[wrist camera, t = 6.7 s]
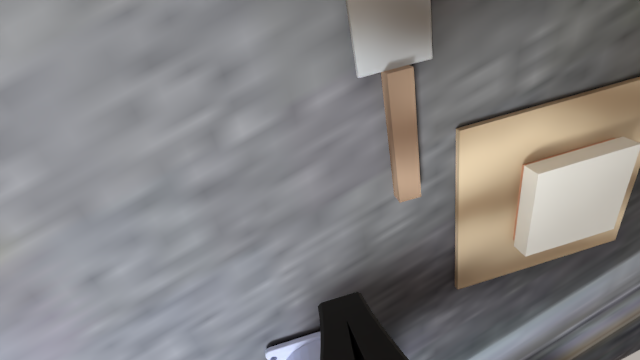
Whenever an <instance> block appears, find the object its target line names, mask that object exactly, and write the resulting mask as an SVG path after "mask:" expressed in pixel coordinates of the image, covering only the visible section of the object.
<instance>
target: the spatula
mask: <svg viewBox="0 0 640 360" xmlns="http://www.w3.org/2000/svg"><path fill="white" fill-rule="evenodd" d="M346 6H347V13H348V20H349V26H350V33H351V40H352V47H353V54H354V60H355V67H356V74H357V77H358V78H361V77H364V76H368V75H372V74H376V73H380V72H381V78H382V87H383V96H384V105H385V114H386V124H387V133H388V142H389V151H390V160H391V170H392V179H393V188H394V195H395V197H396V198H397V199H398V201H399V202H404V201H407V200H411V199H414V198H418V197H421V186H420V169H419V151H418V134H417V117H416V100H415V82H414V67H412V66H410V64H414V63H417V62H421V61H425V60H429V59H432V27H431V0H346Z"/></svg>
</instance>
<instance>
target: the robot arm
mask: <svg viewBox="0 0 640 360" xmlns="http://www.w3.org/2000/svg"><path fill="white" fill-rule="evenodd" d="M318 309H319V316H320V331H319V332H316V333H313V334H310V335H307V336H303V337H300V338H297V339H294V340H291V341H288V342H284V343H281V344H278V345H275V346H272V347H269V348H267V349H266V351H265V355H266V358H267V360H409V359H408V358H407V357H406V356H405V355H404V354H403V352H402V351H401V350H400V349H399V347H398V346H397V345H396V344H395V342H394V341H393V340H392V339H391V337H390V336H389V335H388V334H387V332H386V331H385V330H384V328H383V327H382V326H381V324H380V323H379V321H378V320H377V319H376V317H375V316H374V314H373V313H372V311H371V310H370V308H369V306H368V305H367V303H366V301H365V300H364V298H363V296H362V294H361V293H359V292H356V293H352V294H349V295H346V296H342V297H339V298H336V299H333V300H329V301H326V302H323V303H321V304H320V305H319V306H318Z"/></svg>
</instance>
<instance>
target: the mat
mask: <svg viewBox="0 0 640 360" xmlns="http://www.w3.org/2000/svg"><path fill="white" fill-rule="evenodd" d="M620 137H626V138H628V139H631V140H634V141H636V142H639V143H640V77H637V78H633V79H630V80H626V81H623V82H619V83H616V84H612V85H609V86H605V87H601V88H598V89H594V90H591V91H587V92H584V93H580V94H577V95H573V96H570V97H566V98H562V99H559V100H555V101H552V102H548V103H545V104H541V105H538V106H534V107H531V108H527V109H523V110H520V111H516V112H513V113H509V114H506V115H502V116H499V117H495V118H492V119H488V120H485V121H481V122H477V123H474V124H470V125H467V126H463V127H460V128H456V195H455V287H456V288H457V290H458V289H461V288H465V287H468V286H471V285H474V284H477V283H480V282H484V281H487V280H490V279H493V278H496V277H499V276H503V275H506V274H509V273H512V272H515V271H518V270H522V269H525V268H528V267H531V266H534V265H537V264H541V263H544V262H547V261H550V260H553V259H556V258H559V257H563V256H566V255H569V254H572V253H575V252H578V251H582V250H585V249H588V248H591V247H594V246H597V245H601V244H604V243H607V242H610V241H613V240H615V239H616V236H617V233H618V230H619V227H620V224H621V221H622V218H623V215H624V212H625V209H626V206H627V203H628V200H629V197H630V194H631V191H632V188H633V185H634V183H635V180H636V177H637V174H638V171H639V168H640V151H639V154H638V157H637V160H636V163H635V166H634V169H633V172H632V175H631V178H630V181H629V184H628V187H627V190H626V193H625V196H624V199H623V202H622V205H621V208H620V211H619V214H618V217H617V221H616V224H615V227H614V229H612V230H609V231H606V232H603V233H600V234H596V235H593V236H590V237H587V238H584V239H580V240H577V241H574V242H571V243H568V244H564V245H561V246H558V247H555V248H552V249H549V250H545V251H542V252H539V253H536V254H533V255H529V256H526V257H525V256H524V255H523V254H522V253H521V252H520V251H519V250H518V249H517V248H516V247H514V240H513V234H514V227H515V219H516V211H517V203H518V195H519V187H520V179H521V171H522V165H523V164H526V163H530V162H533V161H536V160H540V159H543V158H547V157H550V156H553V155H557V154H560V153H564V152H567V151H570V150H574V149H577V148H581V147H584V146H587V145H591V144H594V143H598V142H601V141H604V140H608V139H611V138H620Z"/></svg>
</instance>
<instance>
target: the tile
mask: <svg viewBox="0 0 640 360" xmlns="http://www.w3.org/2000/svg"><path fill="white" fill-rule="evenodd" d="M639 151H640V143H639V142H636V141H634V140H631V139H628V138H626V137H620V138H611V139H608V140H604V141H601V142H598V143H594V144H591V145H587V146H584V147H581V148H577V149H574V150H570V151H567V152H564V153H560V154H557V155H553V156H550V157H547V158H543V159H540V160H536V161H533V162H530V163H526V164H523V165H522V171H521V179H520V187H519V195H518V203H517V211H516V219H515V227H514V234H513V240H514V247H516V248H517V249H518V250H519V251H520V252H521V253H522V254H523V255H524V256H525V257H526V256H529V255H533V254H536V253H539V252H542V251H545V250H549V249H552V248H555V247H558V246H561V245H564V244H568V243H571V242H574V241H577V240H580V239H584V238H587V237H590V236H593V235H596V234H600V233H603V232H606V231H609V230H612V229H614V227H615V224H616V221H617V217H618V214H619V211H620V208H621V205H622V202H623V199H624V196H625V193H626V190H627V187H628V184H629V181H630V178H631V175H632V172H633V169H634V166H635V163H636V160H637V157H638V154H639Z"/></svg>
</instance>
